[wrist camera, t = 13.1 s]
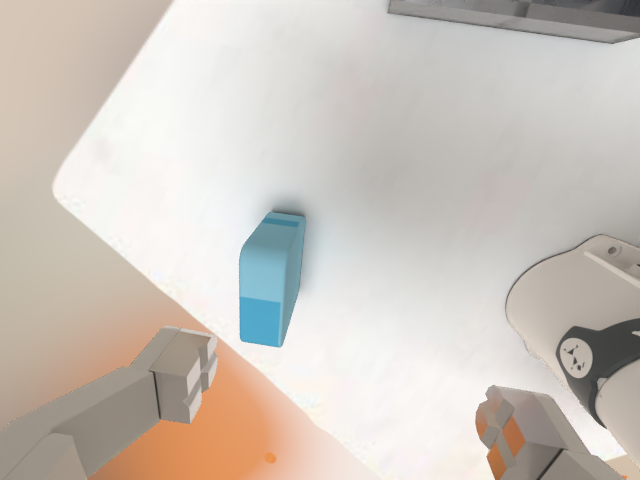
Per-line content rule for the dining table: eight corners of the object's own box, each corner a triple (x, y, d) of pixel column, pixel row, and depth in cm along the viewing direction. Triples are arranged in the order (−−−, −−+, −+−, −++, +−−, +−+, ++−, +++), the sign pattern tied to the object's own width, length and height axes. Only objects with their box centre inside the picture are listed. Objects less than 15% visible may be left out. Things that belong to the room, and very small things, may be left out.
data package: (271, 208, 38) (238, 249, 28) (306, 212, 38) (286, 256, 27) (268, 286, 43) (239, 348, 33) (299, 291, 43) (280, 354, 32)
